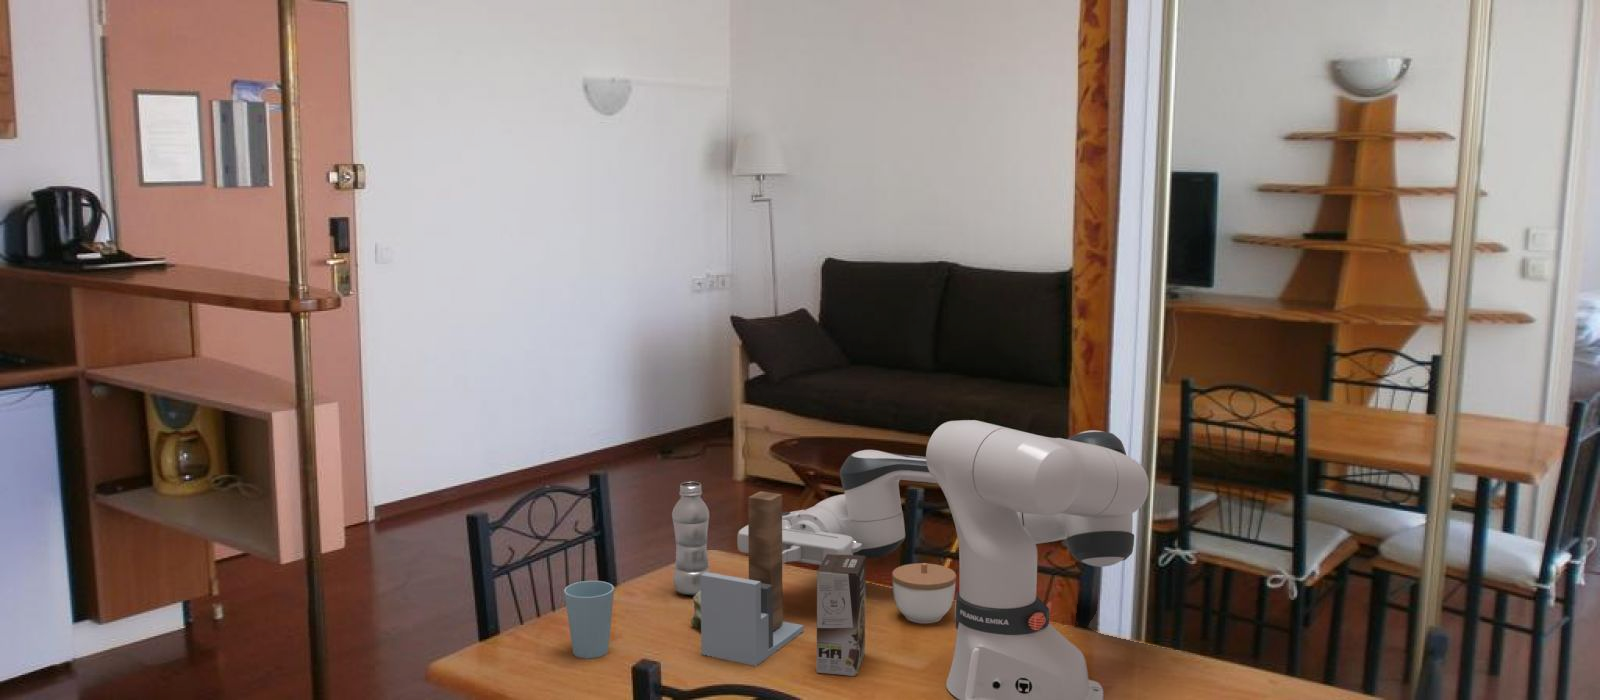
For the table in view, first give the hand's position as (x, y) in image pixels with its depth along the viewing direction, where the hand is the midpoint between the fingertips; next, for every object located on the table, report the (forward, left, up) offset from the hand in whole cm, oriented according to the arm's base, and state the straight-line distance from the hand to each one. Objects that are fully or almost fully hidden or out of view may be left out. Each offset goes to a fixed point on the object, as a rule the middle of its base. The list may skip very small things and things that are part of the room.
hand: (774, 558), depth 206 cm
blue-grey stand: (0, +7, -12) cm, 14 cm away
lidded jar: (-20, -16, -12) cm, 28 cm away
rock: (+9, +4, -12) cm, 15 cm away
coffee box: (-16, +8, -12) cm, 22 cm away
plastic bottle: (+21, -8, -12) cm, 25 cm away
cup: (+21, +22, -12) cm, 33 cm away
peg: (0, +3, -11) cm, 11 cm away
